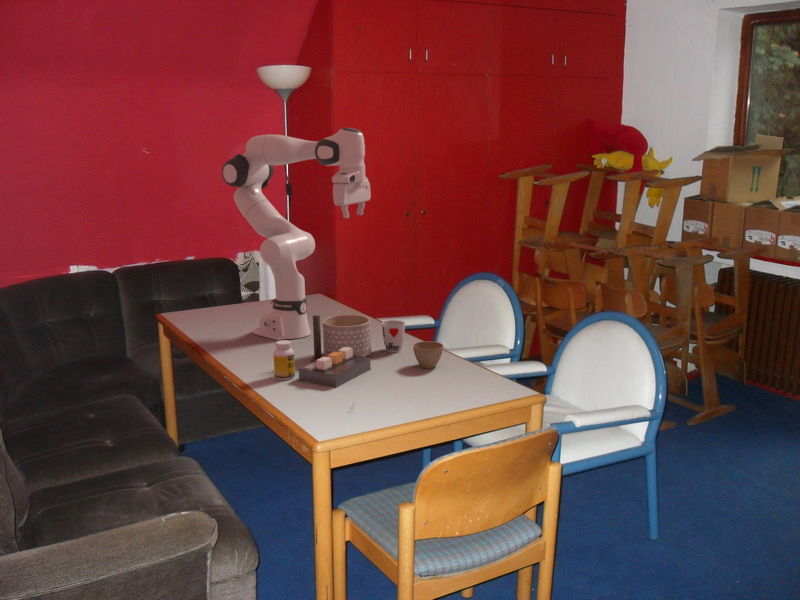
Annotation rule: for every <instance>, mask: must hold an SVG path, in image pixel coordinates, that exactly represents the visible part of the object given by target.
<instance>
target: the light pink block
mask: <svg viewBox="0 0 800 600" xmlns="http://www.w3.org/2000/svg"><path fill="white" fill-rule="evenodd" d="M321 357H322V358H320V359H318V360H316V363H317V368H318V369H323V370H325V369H327V368H329V367H331V366H332V358H329V357H325V356H321Z"/></svg>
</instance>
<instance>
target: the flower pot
mask: <svg viewBox="0 0 800 600" xmlns="http://www.w3.org/2000/svg"><path fill="white" fill-rule="evenodd" d="M412 348H413V353H414V357H415V359H416V361H417V363H418V365H419V366H420V367H421V368H424V369H433V368H435V367H436V366H437V365H438V364H439V361H440V360H441V357H442V354H443V351H444V344H443V343H441V342H438V341H431V340H430V341H429V340H428V341H427V340H426V341H425V340H424V341H418V342H415V343H413V344H412Z"/></svg>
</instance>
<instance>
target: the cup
mask: <svg viewBox="0 0 800 600" xmlns="http://www.w3.org/2000/svg"><path fill="white" fill-rule="evenodd" d="M405 327H406V325H405V322H404V321H403V320H395V319H393V320H392V319H391V320H389V319H388V320H385V321H382V322H381V328H382V329H381V330H382V337H383V338H382V339H383V343H384V346H385V350H386V352H388V353H399V352H401V350H402V348H403V344H404V338H405V331H406V330H405Z"/></svg>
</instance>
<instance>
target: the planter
mask: <svg viewBox="0 0 800 600" xmlns="http://www.w3.org/2000/svg"><path fill="white" fill-rule="evenodd" d="M371 323H372V321H371V318H370V317H367V316H364V315H361V314H338V315H337V314H336V315H332V316H331V315H330V316H328V317H326V318H324V319H323V320H322V338H323V339H322V340H323V342H322V343H323V344H322V345H323V355H324V357H325V356H327V355H328V354H331V353H333V352H338V350H339V349H342V348H344V347H349V348H353V355H357V356H364V357H368V356H369V355H371V353H372V338H371V337H372V331H371V329H372V328H371V327H372V326H371Z"/></svg>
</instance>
